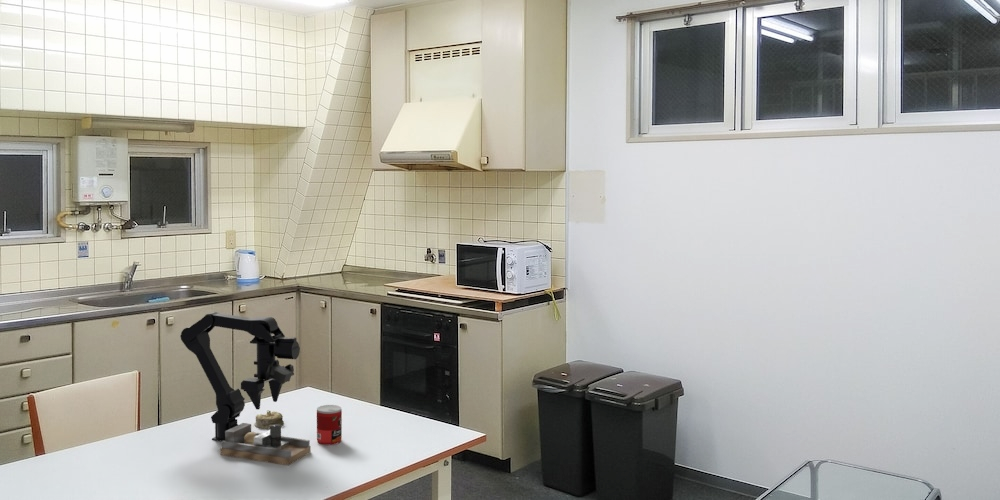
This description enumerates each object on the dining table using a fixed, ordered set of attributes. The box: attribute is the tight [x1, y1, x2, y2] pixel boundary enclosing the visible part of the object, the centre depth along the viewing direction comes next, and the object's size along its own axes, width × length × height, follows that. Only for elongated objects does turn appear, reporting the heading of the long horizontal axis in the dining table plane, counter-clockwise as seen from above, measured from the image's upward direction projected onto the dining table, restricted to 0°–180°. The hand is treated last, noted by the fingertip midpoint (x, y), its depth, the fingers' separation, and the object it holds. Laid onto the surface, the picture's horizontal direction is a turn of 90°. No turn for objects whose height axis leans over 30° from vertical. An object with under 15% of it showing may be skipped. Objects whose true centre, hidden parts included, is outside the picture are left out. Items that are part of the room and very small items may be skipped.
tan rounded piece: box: [244, 431, 257, 445], centre depth 246 cm, size 4×4×4 cm
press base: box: [220, 422, 312, 466], centre depth 244 cm, size 24×12×7 cm, turn 71°
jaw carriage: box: [254, 424, 289, 449], centre depth 244 cm, size 7×8×7 cm
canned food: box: [316, 404, 343, 446], centre depth 256 cm, size 8×8×11 cm
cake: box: [253, 409, 285, 429], centre depth 273 cm, size 10×10×5 cm
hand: (266, 405), depth 254 cm, fingers open, 9 cm apart
